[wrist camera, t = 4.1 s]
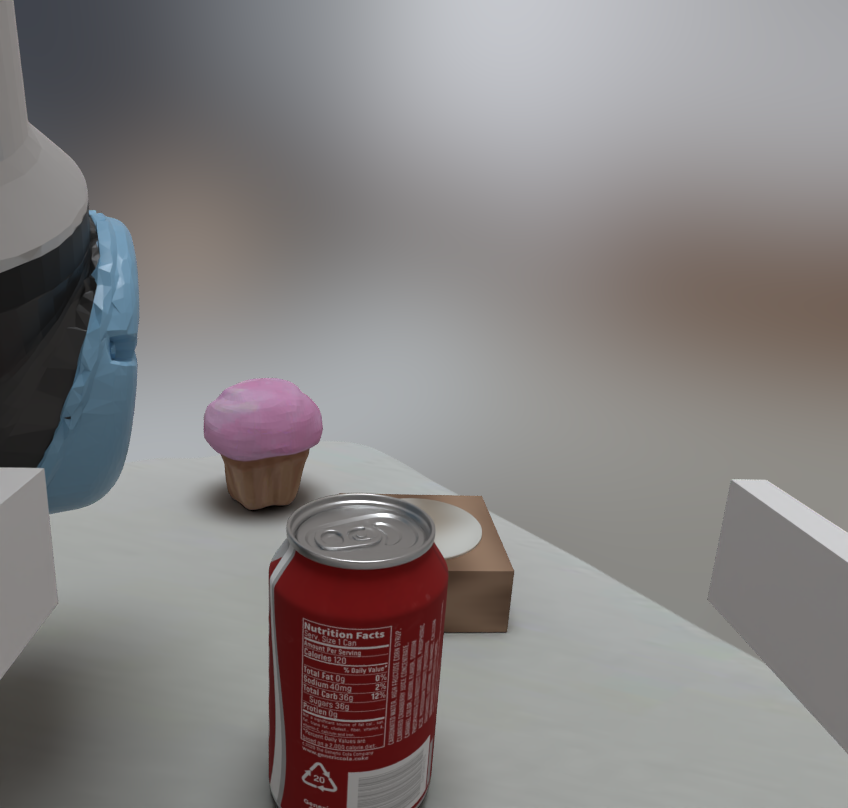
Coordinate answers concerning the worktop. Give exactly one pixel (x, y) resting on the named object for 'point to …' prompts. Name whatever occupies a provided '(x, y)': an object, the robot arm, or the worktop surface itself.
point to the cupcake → (263, 439)
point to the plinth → (469, 562)
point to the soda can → (355, 654)
